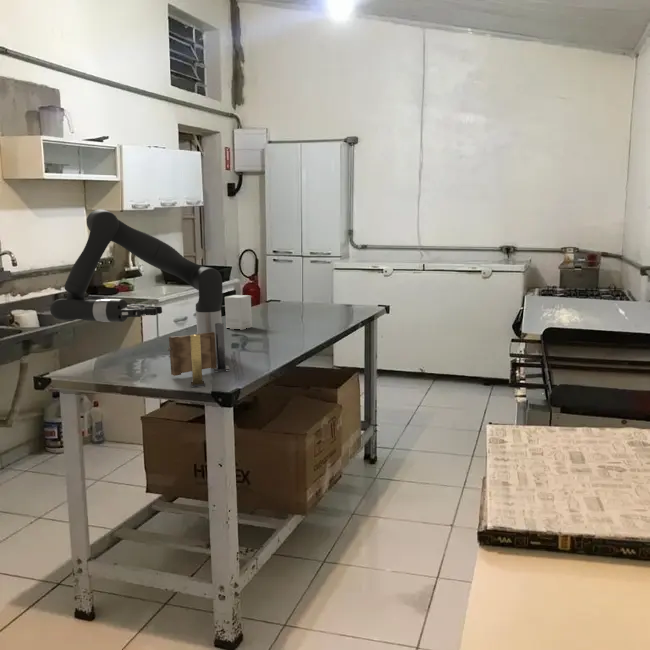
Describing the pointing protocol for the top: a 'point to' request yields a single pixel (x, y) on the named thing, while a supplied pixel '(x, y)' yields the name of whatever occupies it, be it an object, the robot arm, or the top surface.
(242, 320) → the supplement box
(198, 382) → the post
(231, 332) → the top surface
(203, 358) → the gate
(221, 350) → the hinge post
